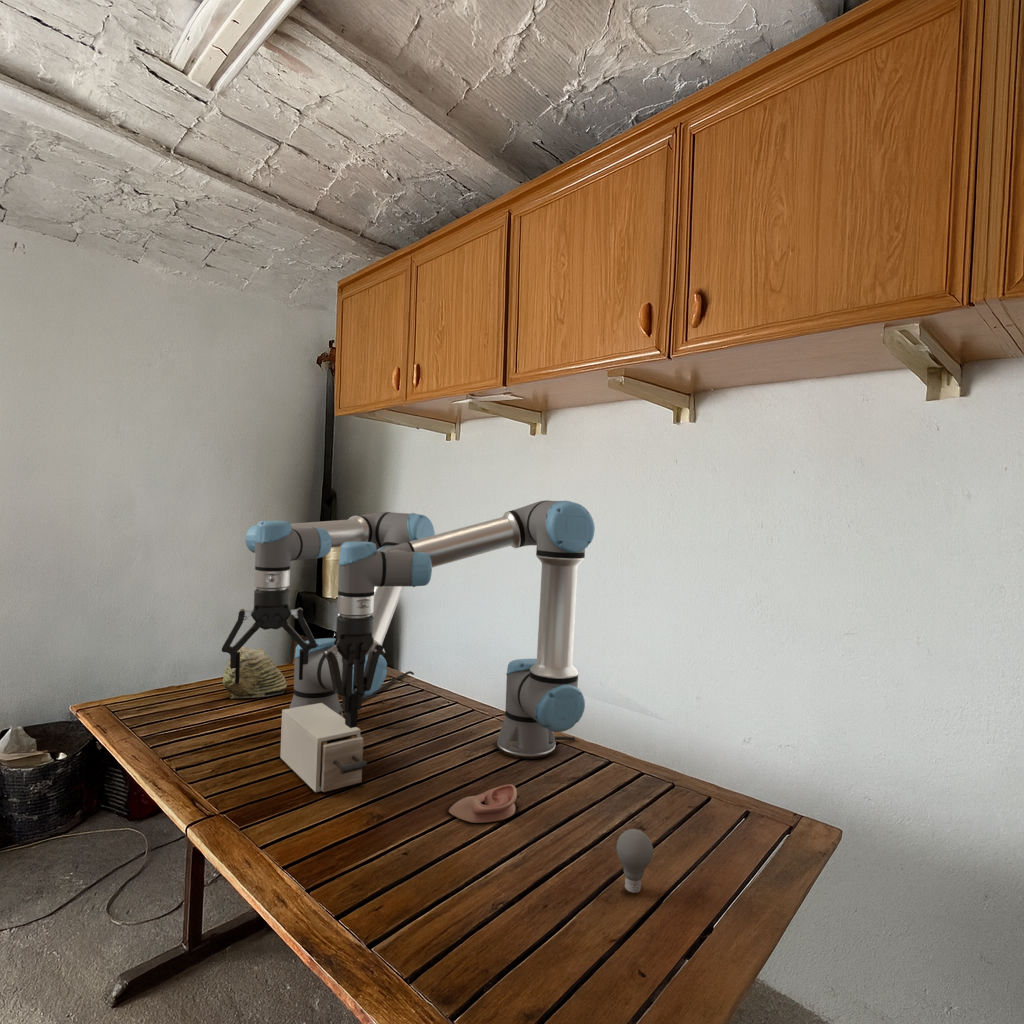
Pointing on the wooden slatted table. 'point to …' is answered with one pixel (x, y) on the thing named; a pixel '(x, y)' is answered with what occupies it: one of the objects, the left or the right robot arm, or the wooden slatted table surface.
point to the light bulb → (634, 857)
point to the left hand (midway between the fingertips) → (269, 680)
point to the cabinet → (310, 738)
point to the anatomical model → (487, 805)
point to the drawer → (341, 762)
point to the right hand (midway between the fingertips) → (351, 725)
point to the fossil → (254, 675)
